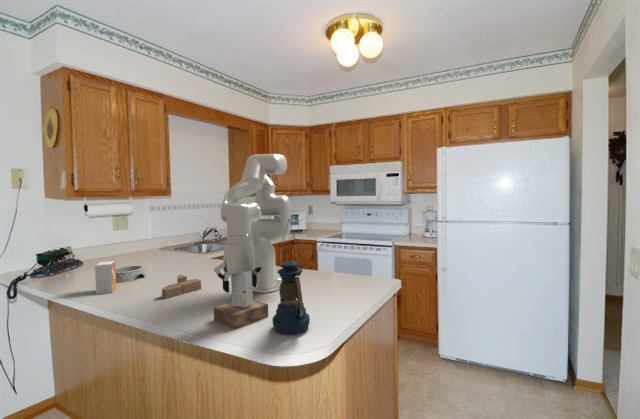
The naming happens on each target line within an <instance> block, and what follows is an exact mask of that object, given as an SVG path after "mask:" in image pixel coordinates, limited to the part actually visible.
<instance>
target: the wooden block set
mask: <svg viewBox="0 0 640 419" xmlns="http://www.w3.org/2000/svg"><path fill="white" fill-rule="evenodd" d="M199 289H200V290H202V280H201V279H197V278H194V279H193V278H191V279H188V278H187V276H186V275H182V274H179V275H177V282H176V283H172V284H168V285H167V286H164V287H163V288H162V289H161V295H162V299H164V300H166V299H169V298H173V297H176V296H181V295H186V294H189V293H193V292H196V290H197V291H200V290H199ZM192 291H193V292H192ZM185 293H186V294H185ZM180 294H181V295H180Z"/></svg>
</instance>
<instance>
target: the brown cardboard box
mask: <svg viewBox="0 0 640 419" xmlns="http://www.w3.org/2000/svg"><path fill="white" fill-rule="evenodd" d="M268 317H269V304H268V303H267V302H266V303H265V302H263V301H261V300H257V299H254V298H253V304H251V305H250V306H248V307H246V308H244V307H236V306H232V301H231V302H226V303H224V304H220V305H218V306H217V305H216V306H214V307H213V321H214V322H217V323H219V324H221V325H223V326H225V327H228V328H229V329H231V330H237V329H239V328H242V327H243V326H247V325H250V324H252V323H255V322H259V321H260V320H263V319H266V318H268Z"/></svg>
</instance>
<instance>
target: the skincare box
mask: <svg viewBox="0 0 640 419" xmlns="http://www.w3.org/2000/svg"><path fill="white" fill-rule="evenodd" d="M230 279H231V280H230V283H231V284H230V285H231V302H232V306H236V307H244V308H246V307H248V306H250V305H251V304H253V299H254V298H253V291H252V271H245V272H241V273H238V274H231V275H230Z"/></svg>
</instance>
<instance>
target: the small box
mask: <svg viewBox="0 0 640 419" xmlns="http://www.w3.org/2000/svg"><path fill="white" fill-rule="evenodd" d="M115 268H116V261H114V260H110V261H99V262H98V263H96V264H95V265H94V274H95V293H96V295H102V294H110V293H111V294H112V293H113V292H114V291H115V290H116V289H117V283H116V269H115Z"/></svg>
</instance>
